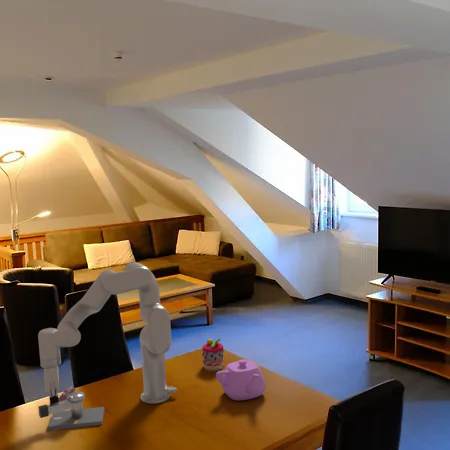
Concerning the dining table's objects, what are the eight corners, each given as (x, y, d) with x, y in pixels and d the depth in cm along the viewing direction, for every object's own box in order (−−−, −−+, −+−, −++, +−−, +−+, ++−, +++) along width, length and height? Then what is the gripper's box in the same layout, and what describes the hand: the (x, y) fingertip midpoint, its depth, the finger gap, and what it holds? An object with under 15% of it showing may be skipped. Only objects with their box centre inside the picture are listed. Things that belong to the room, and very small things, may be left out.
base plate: (104, 410, 208) (104, 406, 208) (102, 424, 196) (101, 420, 196) (53, 415, 205) (53, 411, 205) (48, 430, 193) (48, 426, 193)
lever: (82, 410, 205) (81, 390, 204) (87, 416, 199) (86, 395, 198) (38, 423, 195) (36, 401, 194) (42, 430, 190) (40, 408, 189)
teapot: (210, 392, 221) (208, 359, 220) (253, 382, 229) (252, 350, 228) (230, 415, 200) (229, 378, 199) (277, 403, 209) (276, 368, 207)
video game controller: (61, 410, 213) (67, 396, 211) (52, 405, 213) (58, 391, 212) (73, 399, 222) (79, 386, 221) (64, 394, 223) (70, 381, 221)
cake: (200, 371, 245) (199, 341, 243) (205, 362, 255) (204, 333, 253) (222, 371, 243) (221, 341, 241) (225, 363, 253) (224, 334, 252)
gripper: (40, 355, 202) (44, 399, 204) (40, 369, 188) (44, 416, 190) (60, 352, 204) (64, 395, 206) (61, 366, 190) (65, 412, 192)
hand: (54, 405), depth 198 cm, fingers closed
